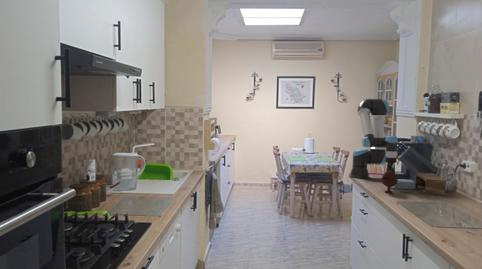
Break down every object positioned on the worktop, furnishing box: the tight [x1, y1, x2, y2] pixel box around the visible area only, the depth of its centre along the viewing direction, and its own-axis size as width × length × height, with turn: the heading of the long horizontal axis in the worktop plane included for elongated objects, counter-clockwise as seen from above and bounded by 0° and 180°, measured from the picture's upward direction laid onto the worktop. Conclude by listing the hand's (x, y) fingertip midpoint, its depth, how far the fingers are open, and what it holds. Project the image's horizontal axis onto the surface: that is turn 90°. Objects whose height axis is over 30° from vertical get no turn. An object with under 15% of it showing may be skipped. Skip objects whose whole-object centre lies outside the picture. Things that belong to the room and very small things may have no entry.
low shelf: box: [414, 172, 447, 196], centre depth 263 cm, size 26×12×10 cm, turn 170°
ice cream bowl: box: [380, 171, 398, 195], centre depth 254 cm, size 11×11×15 cm
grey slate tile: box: [393, 178, 416, 190], centre depth 272 cm, size 10×18×5 cm, turn 80°
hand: (390, 186), depth 274 cm, fingers open, 13 cm apart
